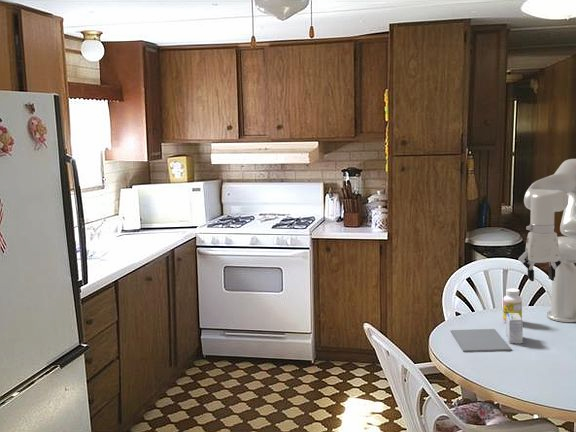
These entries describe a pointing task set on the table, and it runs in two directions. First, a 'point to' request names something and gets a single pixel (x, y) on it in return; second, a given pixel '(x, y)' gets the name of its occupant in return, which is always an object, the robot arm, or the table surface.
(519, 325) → the medicine box
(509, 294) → the supplement bottle
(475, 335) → the mat
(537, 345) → the table surface
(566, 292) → the robot arm
